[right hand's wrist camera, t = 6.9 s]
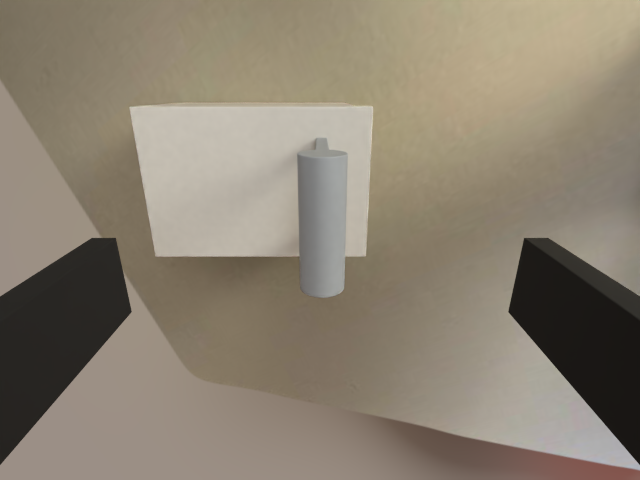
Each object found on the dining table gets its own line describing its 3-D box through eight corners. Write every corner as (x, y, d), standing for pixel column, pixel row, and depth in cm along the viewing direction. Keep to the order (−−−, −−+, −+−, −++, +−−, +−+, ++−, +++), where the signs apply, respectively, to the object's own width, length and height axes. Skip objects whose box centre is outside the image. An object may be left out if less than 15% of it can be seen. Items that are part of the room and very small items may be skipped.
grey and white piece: (370, 105, 23) (402, 114, 14) (363, 249, 27) (386, 327, 18) (138, 105, 23) (25, 113, 14) (162, 249, 27) (84, 328, 18)
